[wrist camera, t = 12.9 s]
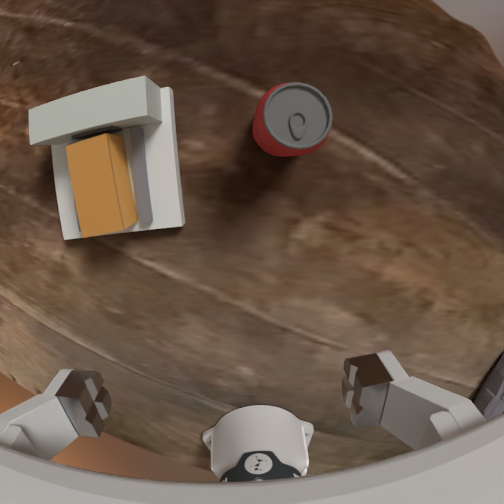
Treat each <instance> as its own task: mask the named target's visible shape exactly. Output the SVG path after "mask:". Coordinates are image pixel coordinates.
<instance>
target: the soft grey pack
mask: <svg viewBox="0 0 504 504" xmlns="http://www.w3.org/2000/svg"><path fill="white" fill-rule="evenodd" d="M473 404H474V405H475V406H476V408H477V409H478V410H479V412H480V413H481V414H482V415H483V417H484V418H485V419H486V421H489V420H491V419H493V418H495V417H497V416H499V415H501V414H503V413H504V353H503V355H502V357H501V359H500V360H499V361H498V362H497V363H496V365H495V366H494V367H493V369H492V371H491V372H490V374H489V375H488V377H487V378H486V380H485V381H484V383H483V385H482V387H481V389H480V391H479V392H478V394H477V396H476V398H475V401H474V403H473Z"/></svg>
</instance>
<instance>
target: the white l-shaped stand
mask: <svg viewBox="0 0 504 504" xmlns="http://www.w3.org/2000/svg"><path fill="white" fill-rule="evenodd" d="M105 133H108V134H115V135H121V136H124V142H125V149H126V156H127V162H128V168H129V174H130V180H131V185H132V191H133V196H134V201H135V207H136V212H137V216H138V221H137V222H135V223H134V224H132V225H131V226H129V227H128V228H126V229H125V230H122V231H117V232H112V233H106V234H101V235H108V234H116V233H125V232H134V231H142V230H152V229H161V228H170V227H180V226H183V225H184V224H185V216H184V208H183V200H182V191H181V181H180V172H179V162H178V151H177V140H176V128H175V115H174V101H173V90H172V89H171V88H170V87H165V88H160V87H158V86H157V85H156V84H155V83H153V82H152V81H151V80H150V79H149V78H147V77H146V76H142V77H137V78H132V79H128V80H124V81H119V82H115V83H111V84H107V85H104V86H100V87H96V88H93V89H89V90H86V91H82V92H79V93H76V94H73V95H70V96H66V97H63V98H60V99H57V100H55V101H52V102H49V103H46V104H43V105H41V106H38V107H35V108H33V109H30V110H29V134H30V145H51V148H52V160H53V170H54V179H55V187H56V195H57V202H58V208H59V214H60V220H61V226H62V231H63V237H64V240H68V239H76V238H83V236H82V232H81V228H80V224H79V219H78V214H77V210H76V205H75V200H74V195H73V190H72V184H71V178H70V172H69V166H68V159H67V152H66V146H68V145H71V144H74V143H77V142H80V141H83V140H86V139H89V138H92V137H95V136H99V135H102V134H105ZM96 236H100V235H96Z"/></svg>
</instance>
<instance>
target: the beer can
mask: <svg viewBox="0 0 504 504" xmlns="http://www.w3.org/2000/svg"><path fill="white" fill-rule="evenodd" d="M332 118H333V117H332V111H331V107H330V105H329V103H328V101H327V99H326V97H325V96H324V95H323V94H322V93H321V92H320V91H319V90H318V89H316V88H314V87H312V86H310V85H308V84H304V83H299V82H297V83H296V82H294V83H283V84H280V85H278V86H276V87H273V88H271V89H270V90H269V91H268V92H267V93H266V94H264V95H263V96H262V98H261V100H260V102H259V104H258V105H257V108H256V112H255V115H254V119H253V124H252V132H253V137H254V139H255V141H256V143H257V145H258V146H259V147H260V148H261V149H262V150H263V151H265V152H267V153H269V154H271V155H273V156H279V157H287V156H299V155H306V154H308V153H310V152H312V151H315V150H316V149H317V148H319V147H320V146H321V145H322V144H323V143H324V142H325V140H326V138H327V136H328V134H329V132H330V129H331V124H332Z"/></svg>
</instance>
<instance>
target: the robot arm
mask: <svg viewBox="0 0 504 504" xmlns="http://www.w3.org/2000/svg"><path fill="white" fill-rule="evenodd" d="M344 371H345V373H346V376H345V377H344V378H343V379H342V394H343V399H344V402H345V405H346V406H347V407H349V408H350V414H349V415H350V418H351V420H352V423H353V425H354V428H355V429H357V428H362V427H367V426H372V425H377V424H380V426H382V427H383V428H385V429H386V430H388V431H389V432H390V433H392V434H393V435H395V436H396V437H397V438H399V439H400V440H402V441H403V442H405V443H406V444H408V445H409V446H411V447H412V448H413V449H415V450H414V451H411V452H408V453H405V454H402V455H398V456H395V457H392V458H388V459H384V460H381V461H377V462H373V463H369V464H365V465H361V466H356V467H352V468H347V469H342V470H337V471H332V472H326V473H320V474H314V475H307V476H305V475H306V473H307V468H308V465H309V464H308V463H309V459H308V452H307V447H308V445H309V442H310V440H311V437H312V434H313V432H314V428H313V425H312V424H311V423H308V422H305V421H301V420H299V419H298V418H296V417H295V416H294V415H293V414H291V413H290V412H288V411H286V410H284V409H281V408H278V407H274V406H266V405H255V406H247V407H243V408H239V409H236V410H234V411H231V412H229V413H228V414H226V415H225V416H223V417H222V418H221V419H220V420H219V422H218V423H217V424H216V425H215V426H214V427H213V428H210V429H208V430H206V431H205V432H203V434H202V439H203V441H204V442H205V444H206V446H207V447H208V449H209V450H210V452H211V470H212V471H213V472H214V473H215V475H216V476H217V477H218V478H219V479H220V482H177V481H164V480H152V479H142V478H133V477H125V476H118V475H112V474H106V473H101V472H95V471H90V470H85V469H80V468H76V467H71V466H67V465H63V464H59V463H55V462H51V461H50V460H51V459H52V458H53V457H54V456H55V455H57V454H58V453H59V452H60V451H61V450H63V449H64V448H65V447H66V446H68V445H69V444H70V443H71V442H72V441H74V440H75V439H76V438H77V437H78V435H81V436H89V437H99V436H100V434H101V432H102V429H103V427H104V422H103V419H105V418H106V417H108V416H109V413H110V411H111V398H110V395H109V392H108V391H107V390H106V389H105V388H104V387H103V386H102V385H103V382H104V380H103V378H102V376H101V374H100V373H99V372H97V371H85V370H73V369H61V370H60V371H59V372H58V374H57V375H56V376H55V378H54V379H53V380H52V382H51V383H50V385H49V386H48V387H47V389H46V390H45V391H44V393H43V394H38V395H36V396H34V397H33V398H31V399H29V400H27V401H25V402H23V403H21V404H19V405H17V406H15V407H13V408H11V409H10V410H8V411H6V412H4V413H2V414H0V504H504V413H503V414H501V415H499V416H497V417H495V418H493V419H491V420H489V421H486V419H485V418H484V417H483V415H482V414H481V413H480V412H479V410H478V409H477V408H476V406H475V405H474V404H473V403H472V401H471V400H469V399H467V398H464V397H462V396H459V395H457V394H454V393H452V392H449V391H447V390H444V389H442V388H439V387H437V386H435V385H432V384H430V383H427V382H425V381H422V380H420V379H418V378H415V377H409V376H408V375H407V374H406V372H405V371H404V369H403V368H402V366H401V365H400V364H399V362H398V361H397V359H396V358H395V357H394V355H393V354H392V353H391V351H389V350H385V351H381V352H376V353H374V354H369V355H363V356H357V357H352V358H346V359H345V362H344Z"/></svg>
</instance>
